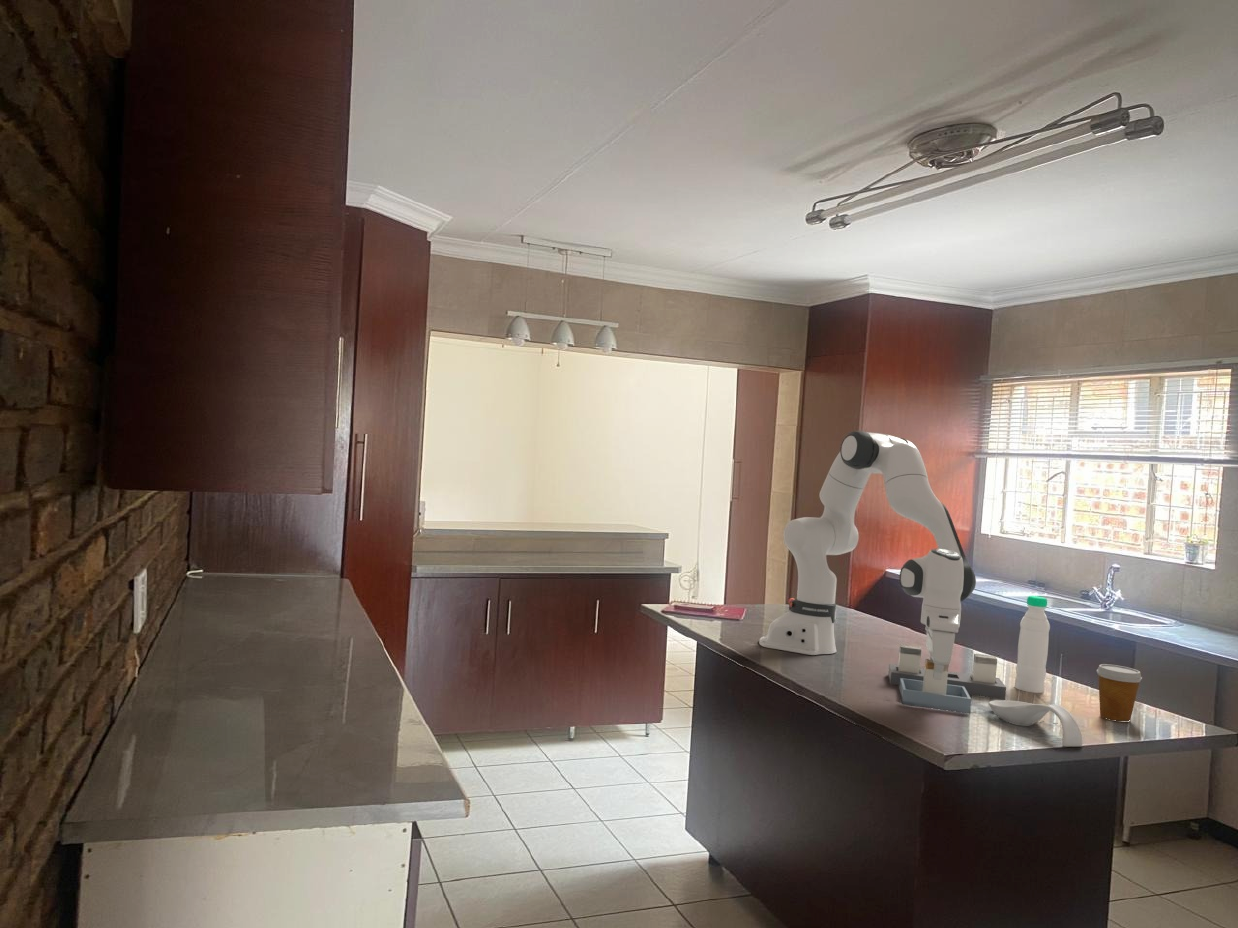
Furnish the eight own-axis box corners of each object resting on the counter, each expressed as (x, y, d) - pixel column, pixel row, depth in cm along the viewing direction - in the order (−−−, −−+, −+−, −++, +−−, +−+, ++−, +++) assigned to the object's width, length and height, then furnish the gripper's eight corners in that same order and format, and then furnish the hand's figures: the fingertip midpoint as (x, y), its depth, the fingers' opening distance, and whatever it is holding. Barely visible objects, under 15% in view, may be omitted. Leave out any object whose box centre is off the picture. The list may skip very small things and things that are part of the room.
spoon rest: (977, 713, 209) (979, 683, 209) (1019, 713, 212) (1022, 683, 212) (1051, 748, 187) (1054, 714, 186) (1097, 748, 190) (1100, 714, 190)
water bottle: (1045, 698, 229) (1054, 600, 228) (1015, 693, 231) (1023, 596, 231) (1042, 691, 236) (1051, 596, 235) (1013, 687, 238) (1021, 593, 238)
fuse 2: (972, 692, 225) (976, 656, 225) (970, 688, 228) (973, 653, 228) (994, 695, 224) (997, 659, 223) (991, 691, 227) (995, 656, 227)
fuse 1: (897, 681, 229) (900, 646, 229) (896, 678, 232) (899, 644, 232) (918, 684, 228) (921, 649, 228) (917, 681, 231) (920, 646, 231)
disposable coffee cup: (1147, 724, 211) (1152, 674, 211) (1115, 725, 208) (1119, 673, 208) (1114, 712, 220) (1119, 663, 220) (1083, 712, 217) (1087, 663, 217)
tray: (902, 704, 211) (903, 689, 211) (898, 691, 223) (900, 677, 223) (969, 713, 208) (971, 698, 208) (963, 700, 219) (964, 686, 219)
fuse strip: (889, 687, 226) (891, 672, 226) (887, 678, 236) (889, 663, 236) (1004, 703, 220) (1006, 687, 220) (997, 693, 230) (999, 677, 230)
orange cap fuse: (923, 699, 214) (926, 661, 214) (922, 695, 218) (925, 658, 218) (945, 702, 213) (948, 664, 213) (943, 698, 217) (947, 661, 216)
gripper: (922, 609, 226) (918, 664, 226) (930, 623, 206) (925, 683, 206) (949, 612, 224) (944, 667, 225) (959, 626, 205) (954, 687, 205)
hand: (935, 675), depth 215 cm, fingers open, 7 cm apart
